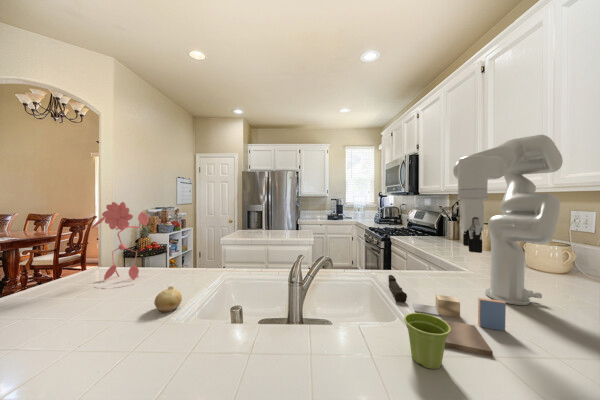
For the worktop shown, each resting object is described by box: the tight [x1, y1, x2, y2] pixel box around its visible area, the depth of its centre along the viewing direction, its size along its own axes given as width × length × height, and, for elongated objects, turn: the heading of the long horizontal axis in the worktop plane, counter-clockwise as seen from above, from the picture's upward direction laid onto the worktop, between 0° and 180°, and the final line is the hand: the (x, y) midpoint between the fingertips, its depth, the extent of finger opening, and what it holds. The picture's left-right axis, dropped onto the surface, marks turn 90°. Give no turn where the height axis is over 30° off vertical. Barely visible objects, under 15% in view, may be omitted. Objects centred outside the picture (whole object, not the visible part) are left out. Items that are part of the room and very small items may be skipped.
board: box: [442, 319, 494, 357], centre depth 62 cm, size 14×12×1 cm
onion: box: [153, 285, 183, 313], centre depth 76 cm, size 8×8×7 cm
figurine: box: [91, 201, 150, 290], centre depth 99 cm, size 15×26×35 cm, turn 89°
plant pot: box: [403, 312, 451, 370], centre depth 53 cm, size 9×9×9 cm
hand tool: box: [387, 274, 408, 303], centre depth 91 cm, size 19×4×5 cm, turn 168°
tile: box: [477, 297, 507, 332], centre depth 67 cm, size 6×2×8 cm, turn 69°
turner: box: [412, 294, 461, 319], centre depth 76 cm, size 13×6×5 cm, turn 69°
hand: (472, 248), depth 73 cm, fingers open, 9 cm apart
